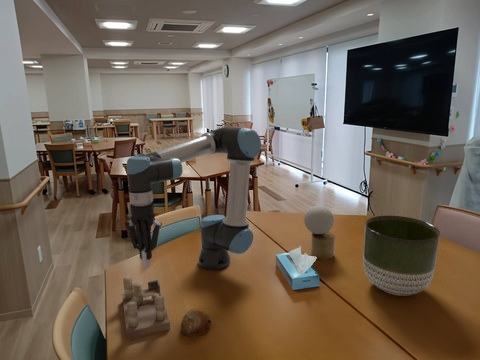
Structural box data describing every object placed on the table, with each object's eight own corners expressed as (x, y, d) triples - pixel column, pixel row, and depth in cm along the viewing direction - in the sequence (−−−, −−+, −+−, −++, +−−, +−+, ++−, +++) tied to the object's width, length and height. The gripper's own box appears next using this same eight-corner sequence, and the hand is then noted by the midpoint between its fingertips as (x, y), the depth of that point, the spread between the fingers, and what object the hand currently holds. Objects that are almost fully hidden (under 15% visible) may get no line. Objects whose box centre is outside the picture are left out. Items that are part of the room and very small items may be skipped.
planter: (425, 277, 149) (433, 219, 143) (437, 313, 125) (447, 244, 118) (360, 268, 158) (364, 212, 151) (360, 300, 133) (365, 235, 127)
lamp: (300, 257, 169) (301, 209, 163) (306, 246, 182) (307, 200, 176) (331, 262, 164) (334, 212, 158) (335, 250, 176) (338, 203, 170)
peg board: (122, 300, 135) (120, 276, 132) (158, 293, 140) (157, 269, 137) (127, 340, 113) (124, 311, 110) (170, 329, 118) (168, 301, 115)
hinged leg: (158, 296, 132) (157, 278, 130) (159, 300, 129) (158, 282, 127) (134, 301, 129) (132, 283, 127) (135, 306, 126) (133, 287, 124)
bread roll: (187, 327, 125) (177, 310, 123) (213, 315, 124) (202, 298, 122) (186, 347, 115) (174, 328, 113) (213, 333, 115) (202, 315, 113)
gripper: (117, 205, 113) (124, 270, 119) (154, 207, 110) (158, 274, 116) (130, 198, 120) (135, 260, 126) (164, 200, 117) (168, 264, 123)
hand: (146, 267), depth 121 cm, fingers closed
